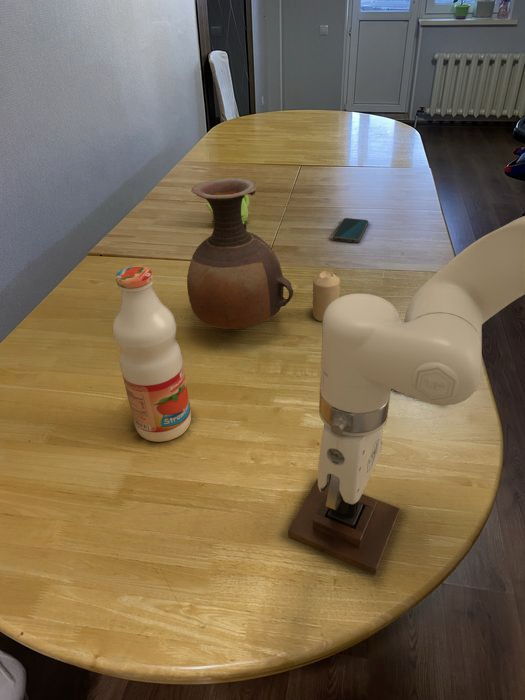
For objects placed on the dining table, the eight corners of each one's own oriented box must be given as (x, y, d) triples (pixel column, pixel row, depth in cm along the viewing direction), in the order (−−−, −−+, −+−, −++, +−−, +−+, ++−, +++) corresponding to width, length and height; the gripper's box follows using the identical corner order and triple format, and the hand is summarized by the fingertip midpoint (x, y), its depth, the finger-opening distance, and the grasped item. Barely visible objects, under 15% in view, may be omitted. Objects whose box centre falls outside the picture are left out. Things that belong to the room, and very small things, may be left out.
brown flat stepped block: (399, 513, 70) (401, 499, 69) (375, 574, 63) (377, 560, 62) (317, 482, 75) (318, 468, 73) (287, 536, 68) (287, 521, 66)
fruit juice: (149, 401, 91) (117, 256, 75) (199, 408, 89) (178, 260, 73) (126, 439, 84) (85, 287, 68) (180, 447, 82) (152, 292, 66)
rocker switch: (362, 512, 69) (363, 504, 68) (352, 533, 66) (353, 525, 65) (337, 502, 70) (337, 494, 69) (326, 522, 68) (327, 514, 67)
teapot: (215, 215, 163) (212, 184, 157) (251, 215, 162) (249, 184, 156) (208, 230, 154) (204, 197, 148) (246, 230, 152) (244, 198, 147)
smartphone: (331, 240, 144) (331, 237, 143) (343, 220, 155) (344, 217, 155) (358, 243, 142) (359, 240, 141) (369, 222, 153) (369, 219, 153)
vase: (308, 327, 109) (310, 185, 91) (240, 369, 98) (228, 216, 80) (235, 292, 122) (225, 162, 105) (169, 325, 112) (145, 186, 94)
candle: (339, 321, 110) (341, 279, 104) (313, 322, 110) (314, 280, 104) (336, 308, 115) (338, 267, 109) (311, 309, 115) (312, 268, 109)
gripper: (363, 460, 50) (351, 568, 61) (406, 374, 60) (389, 478, 71) (293, 435, 53) (293, 542, 64) (346, 357, 63) (338, 460, 74)
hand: (344, 508), depth 67 cm, fingers closed
